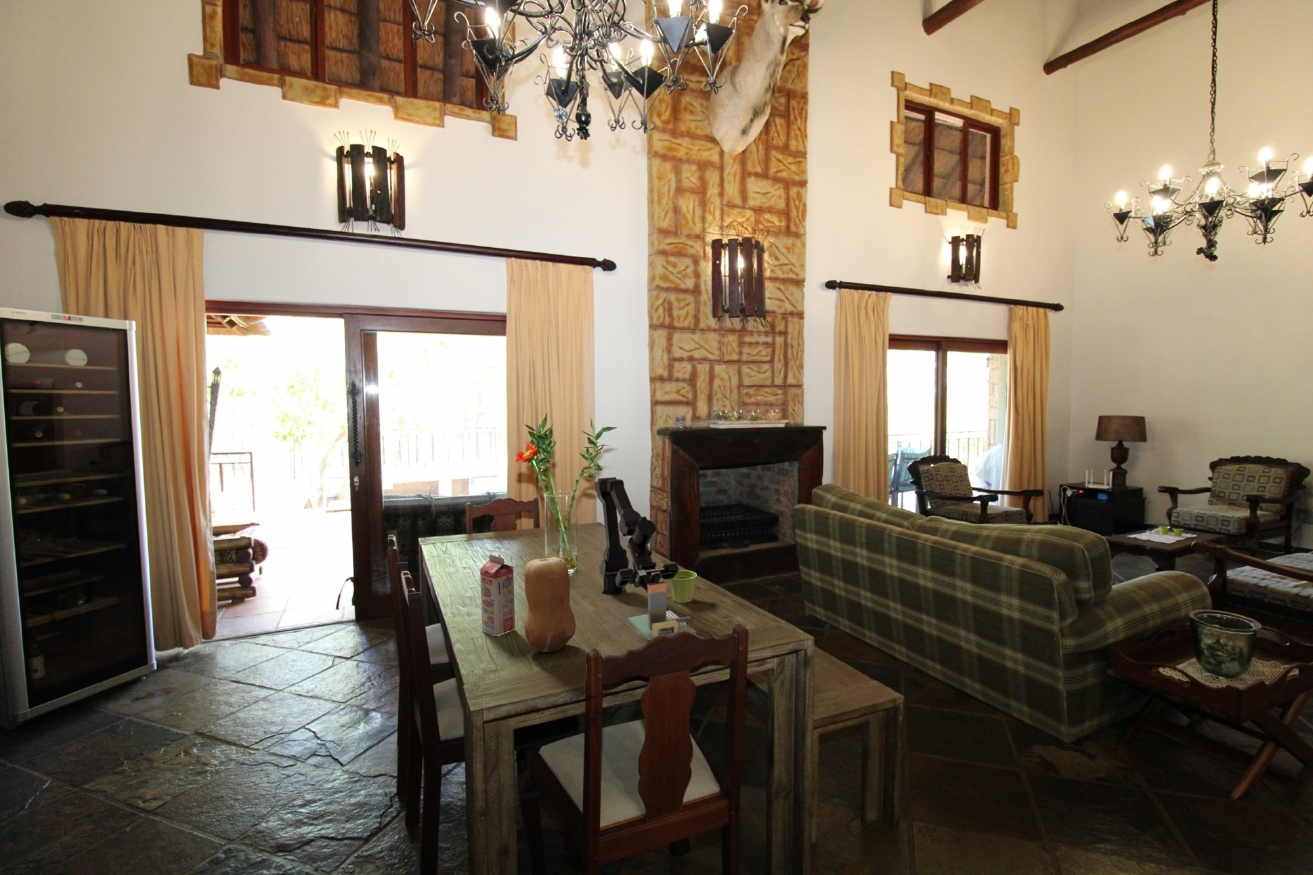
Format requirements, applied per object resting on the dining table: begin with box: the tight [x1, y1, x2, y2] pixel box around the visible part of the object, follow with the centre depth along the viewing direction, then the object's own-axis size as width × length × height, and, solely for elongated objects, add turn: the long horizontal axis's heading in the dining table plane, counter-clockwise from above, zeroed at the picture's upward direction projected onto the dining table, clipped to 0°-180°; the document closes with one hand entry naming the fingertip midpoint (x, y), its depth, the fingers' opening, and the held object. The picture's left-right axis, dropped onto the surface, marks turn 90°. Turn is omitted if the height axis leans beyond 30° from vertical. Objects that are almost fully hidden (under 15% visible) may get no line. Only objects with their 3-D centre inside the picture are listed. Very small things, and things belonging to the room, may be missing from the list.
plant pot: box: [669, 569, 698, 604], centre depth 200 cm, size 9×9×9 cm
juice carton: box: [479, 553, 516, 636], centre depth 176 cm, size 7×7×22 cm
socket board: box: [627, 610, 697, 641], centre depth 178 cm, size 18×14×4 cm
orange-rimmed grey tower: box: [647, 581, 692, 635], centre depth 173 cm, size 8×13×13 cm, turn 114°
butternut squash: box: [523, 557, 577, 653], centre depth 162 cm, size 14×13×25 cm
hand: (655, 600), depth 175 cm, fingers closed
